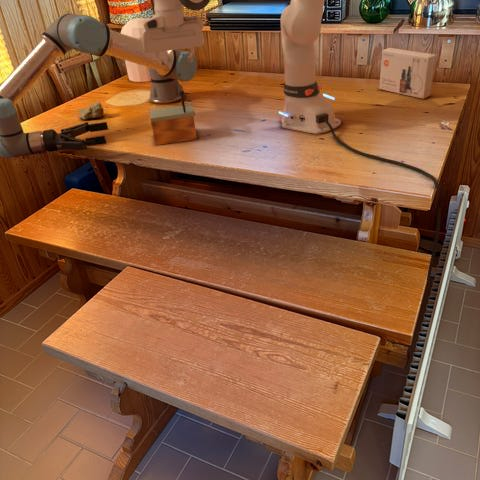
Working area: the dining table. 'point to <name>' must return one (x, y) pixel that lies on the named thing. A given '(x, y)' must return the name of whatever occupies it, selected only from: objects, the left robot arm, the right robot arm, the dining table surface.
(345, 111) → the dining table surface
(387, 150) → the dining table surface
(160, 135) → the chest
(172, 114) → the lid
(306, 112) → the right robot arm
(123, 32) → the container
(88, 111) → the rock
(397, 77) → the skincare box
